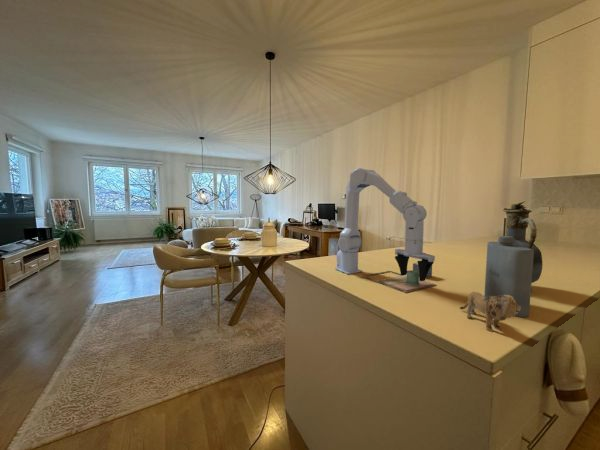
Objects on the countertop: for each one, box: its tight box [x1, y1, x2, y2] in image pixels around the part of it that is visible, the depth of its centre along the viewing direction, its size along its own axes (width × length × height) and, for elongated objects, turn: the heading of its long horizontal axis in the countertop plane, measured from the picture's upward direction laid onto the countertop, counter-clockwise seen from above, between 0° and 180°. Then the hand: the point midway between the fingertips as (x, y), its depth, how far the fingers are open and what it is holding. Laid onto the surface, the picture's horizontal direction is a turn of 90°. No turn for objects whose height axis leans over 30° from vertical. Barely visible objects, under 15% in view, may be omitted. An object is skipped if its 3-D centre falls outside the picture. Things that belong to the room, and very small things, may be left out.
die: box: [412, 262, 433, 279], centre depth 100 cm, size 5×5×5 cm
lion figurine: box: [459, 291, 521, 332], centre depth 60 cm, size 15×5×9 cm, turn 10°
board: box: [361, 270, 437, 294], centre depth 94 cm, size 21×16×1 cm
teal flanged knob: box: [405, 269, 420, 287], centre depth 88 cm, size 5×5×4 cm
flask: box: [483, 235, 534, 318], centre depth 70 cm, size 15×6×20 cm, turn 169°
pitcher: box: [502, 200, 543, 284], centre depth 83 cm, size 11×19×30 cm, turn 160°
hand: (412, 277), depth 87 cm, fingers open, 7 cm apart
